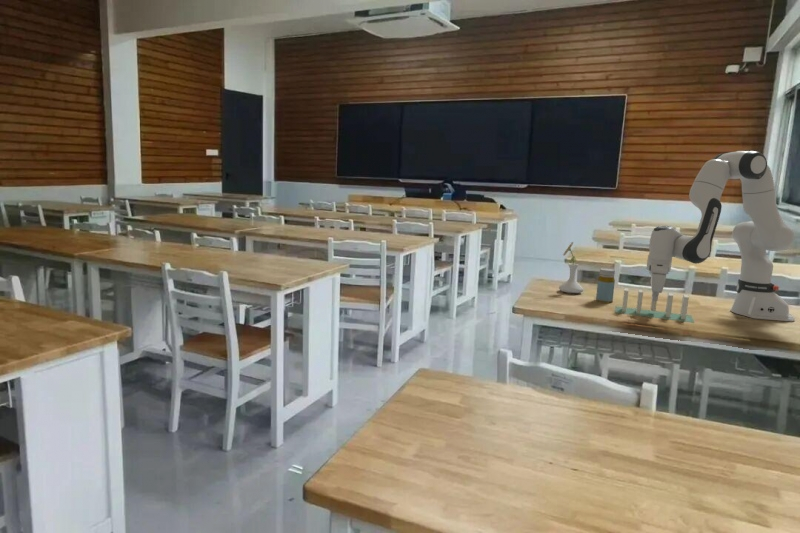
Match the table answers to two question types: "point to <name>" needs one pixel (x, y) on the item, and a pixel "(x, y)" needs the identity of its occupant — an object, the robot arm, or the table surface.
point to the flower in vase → (571, 277)
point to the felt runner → (654, 314)
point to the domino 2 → (653, 305)
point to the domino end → (625, 299)
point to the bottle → (605, 285)
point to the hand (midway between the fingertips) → (654, 299)
